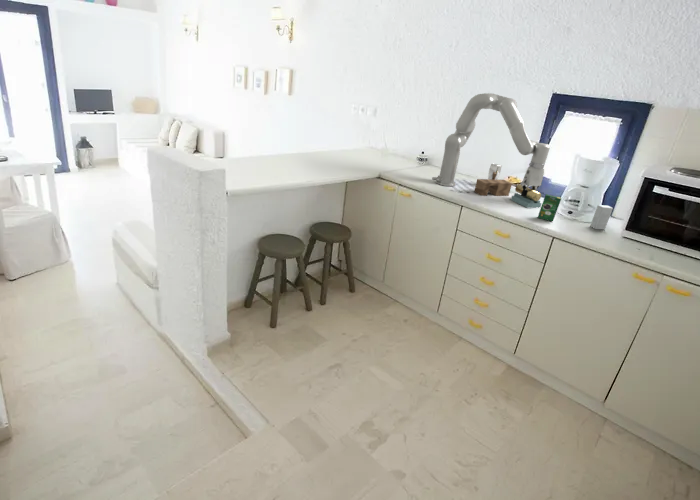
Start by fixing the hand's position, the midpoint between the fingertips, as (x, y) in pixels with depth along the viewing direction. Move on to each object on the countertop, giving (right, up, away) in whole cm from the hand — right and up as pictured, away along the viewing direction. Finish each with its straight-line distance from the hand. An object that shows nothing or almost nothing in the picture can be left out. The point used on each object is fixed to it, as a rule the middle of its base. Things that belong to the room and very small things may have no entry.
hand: (527, 195), depth 241 cm
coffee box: (0, -16, -22) cm, 27 cm away
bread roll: (0, 0, +1) cm, 1 cm away
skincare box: (+26, -20, -25) cm, 41 cm away
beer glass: (-12, +9, +27) cm, 31 cm away
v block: (0, -4, +2) cm, 5 cm away
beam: (-17, +3, +13) cm, 22 cm away
